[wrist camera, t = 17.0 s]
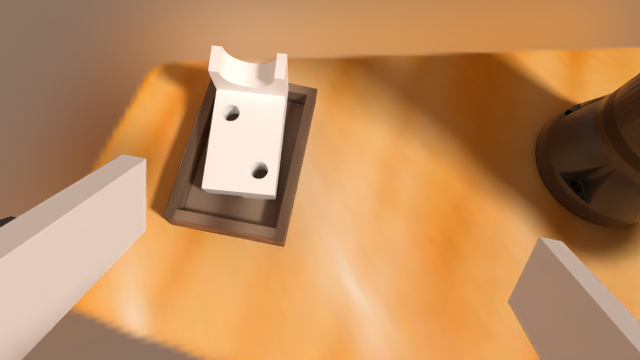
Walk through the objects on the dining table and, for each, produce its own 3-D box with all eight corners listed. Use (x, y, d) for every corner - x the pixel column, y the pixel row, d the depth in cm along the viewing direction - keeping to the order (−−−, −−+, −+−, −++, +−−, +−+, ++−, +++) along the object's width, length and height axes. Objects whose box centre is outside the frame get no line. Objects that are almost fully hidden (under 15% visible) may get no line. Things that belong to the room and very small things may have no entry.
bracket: (226, 81, 44) (212, 45, 36) (288, 88, 44) (287, 54, 36) (209, 194, 41) (190, 180, 33) (275, 200, 41) (271, 188, 34)
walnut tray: (315, 103, 47) (317, 89, 44) (284, 246, 40) (283, 240, 37) (216, 83, 47) (212, 67, 44) (168, 224, 40) (159, 216, 37)
